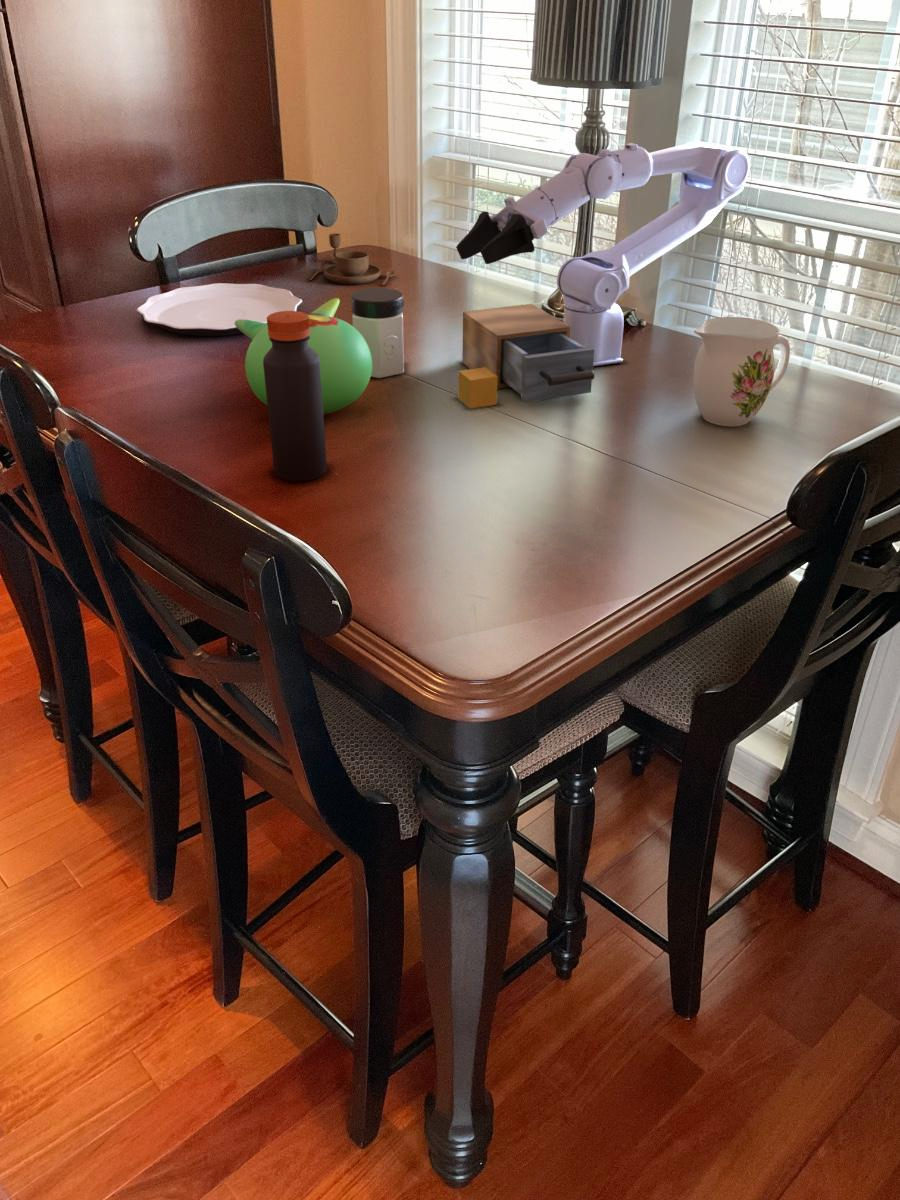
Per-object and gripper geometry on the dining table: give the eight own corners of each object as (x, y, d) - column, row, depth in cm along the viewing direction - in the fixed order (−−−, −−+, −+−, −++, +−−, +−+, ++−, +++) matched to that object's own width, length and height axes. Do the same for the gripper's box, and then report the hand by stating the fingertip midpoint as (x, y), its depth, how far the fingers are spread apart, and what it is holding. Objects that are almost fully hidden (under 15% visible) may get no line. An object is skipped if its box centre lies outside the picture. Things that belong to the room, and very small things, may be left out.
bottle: (264, 478, 124) (247, 321, 113) (290, 457, 130) (276, 305, 119) (312, 486, 122) (299, 328, 111) (336, 465, 127) (326, 311, 117)
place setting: (303, 283, 202) (301, 254, 199) (329, 260, 219) (327, 232, 216) (386, 287, 200) (385, 258, 197) (406, 263, 216) (405, 236, 213)
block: (484, 394, 149) (485, 367, 147) (496, 404, 146) (497, 376, 143) (458, 398, 148) (458, 370, 145) (469, 408, 144) (470, 380, 142)
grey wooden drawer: (604, 401, 145) (608, 357, 141) (536, 412, 141) (539, 367, 137) (553, 366, 157) (555, 325, 154) (489, 375, 154) (490, 333, 150)
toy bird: (266, 440, 134) (255, 334, 126) (237, 399, 147) (226, 301, 139) (389, 421, 140) (385, 318, 132) (351, 383, 153) (346, 288, 145)
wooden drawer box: (566, 378, 155) (570, 326, 151) (495, 389, 151) (497, 335, 147) (529, 353, 166) (531, 303, 161) (462, 362, 162) (462, 311, 157)
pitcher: (804, 418, 142) (824, 324, 134) (707, 441, 135) (723, 342, 127) (752, 394, 150) (768, 304, 143) (658, 414, 143) (670, 320, 135)
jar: (367, 382, 154) (364, 305, 147) (343, 367, 159) (339, 292, 153) (416, 371, 158) (415, 296, 151) (390, 357, 164) (388, 284, 157)
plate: (333, 310, 186) (332, 297, 185) (225, 352, 165) (223, 338, 164) (219, 287, 199) (218, 275, 198) (106, 323, 178) (103, 310, 177)
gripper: (509, 180, 149) (438, 226, 147) (560, 182, 137) (484, 233, 135) (526, 223, 153) (457, 269, 151) (577, 229, 141) (503, 279, 139)
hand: (471, 255), depth 143 cm, fingers open, 7 cm apart
